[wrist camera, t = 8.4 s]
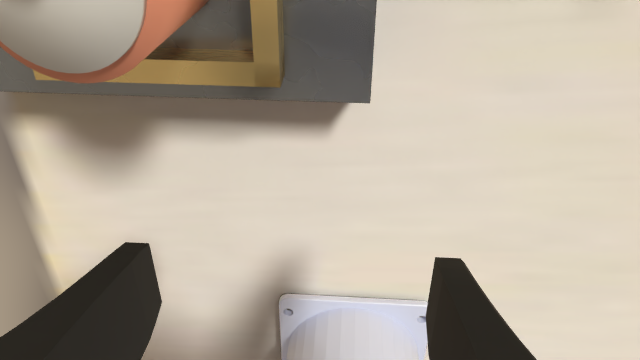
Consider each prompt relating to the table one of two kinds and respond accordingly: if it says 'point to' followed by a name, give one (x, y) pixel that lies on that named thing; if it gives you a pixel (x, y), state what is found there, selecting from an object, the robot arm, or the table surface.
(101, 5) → the spout can
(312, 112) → the table surface
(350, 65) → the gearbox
